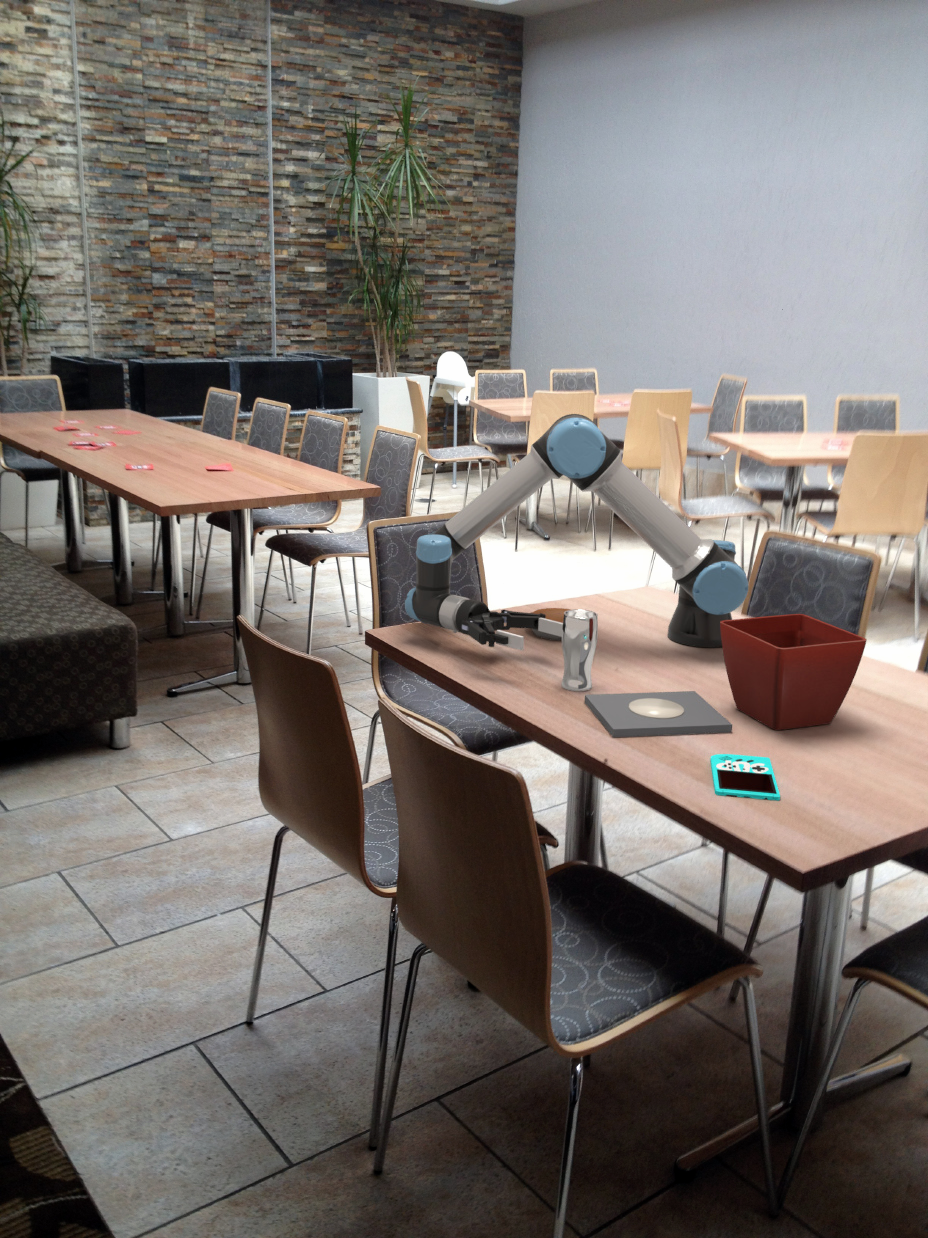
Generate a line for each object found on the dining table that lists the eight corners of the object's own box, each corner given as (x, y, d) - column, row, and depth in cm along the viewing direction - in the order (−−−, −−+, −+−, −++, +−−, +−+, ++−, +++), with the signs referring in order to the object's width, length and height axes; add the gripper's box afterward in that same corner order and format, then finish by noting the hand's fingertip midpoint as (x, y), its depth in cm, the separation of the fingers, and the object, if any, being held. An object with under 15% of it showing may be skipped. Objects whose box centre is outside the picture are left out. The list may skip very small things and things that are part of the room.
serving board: (693, 698, 212) (694, 689, 212) (731, 732, 195) (732, 723, 194) (584, 702, 208) (584, 693, 208) (613, 737, 191) (613, 727, 191)
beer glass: (594, 682, 220) (598, 609, 216) (594, 693, 213) (599, 619, 209) (559, 680, 221) (563, 608, 217) (558, 691, 214) (562, 617, 210)
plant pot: (709, 704, 209) (717, 619, 205) (792, 694, 216) (802, 612, 211) (770, 740, 192) (780, 648, 187) (858, 728, 199) (870, 639, 194)
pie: (595, 644, 246) (596, 623, 244) (526, 642, 246) (527, 621, 244) (588, 625, 260) (589, 605, 259) (523, 623, 261) (524, 603, 259)
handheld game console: (770, 764, 183) (771, 756, 183) (781, 804, 168) (782, 796, 167) (709, 758, 184) (709, 751, 184) (714, 798, 169) (715, 790, 169)
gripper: (502, 622, 244) (579, 642, 230) (424, 644, 226) (503, 668, 212) (503, 589, 242) (581, 608, 228) (425, 609, 224) (504, 630, 210)
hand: (544, 637), depth 220 cm, fingers open, 13 cm apart
